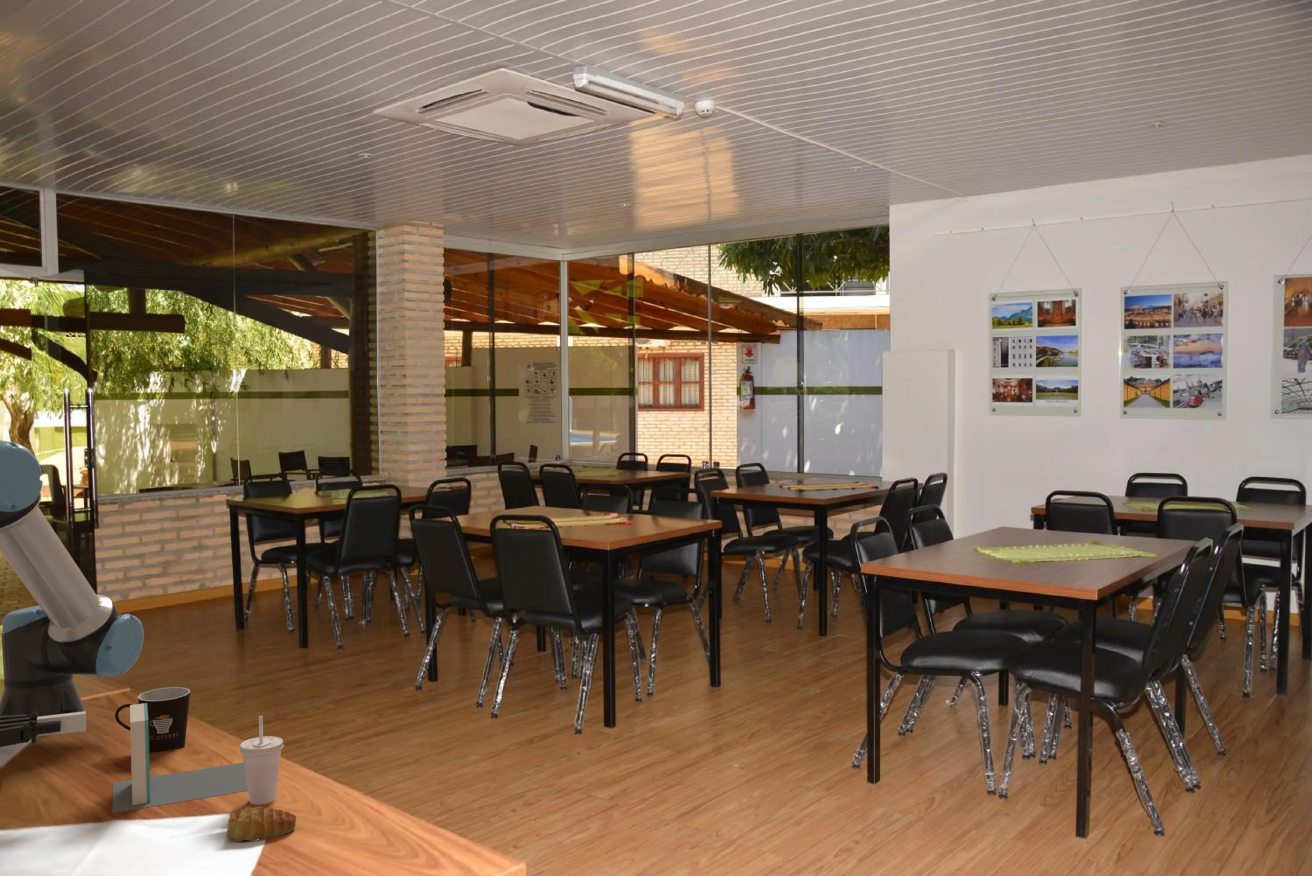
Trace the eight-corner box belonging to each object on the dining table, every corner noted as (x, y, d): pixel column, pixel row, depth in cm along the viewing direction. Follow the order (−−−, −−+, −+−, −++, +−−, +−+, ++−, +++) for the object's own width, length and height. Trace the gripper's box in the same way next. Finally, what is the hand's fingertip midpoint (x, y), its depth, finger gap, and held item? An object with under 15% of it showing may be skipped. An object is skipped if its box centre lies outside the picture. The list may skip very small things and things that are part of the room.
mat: (113, 786, 170) (113, 782, 170) (243, 765, 179) (243, 762, 179) (112, 817, 158) (112, 813, 158) (252, 793, 167) (252, 789, 167)
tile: (132, 783, 170) (129, 705, 169) (149, 781, 171) (147, 703, 170) (132, 805, 161) (130, 722, 160) (150, 802, 162) (148, 720, 161)
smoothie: (238, 813, 159) (236, 723, 158) (243, 797, 165) (241, 711, 165) (282, 809, 161) (281, 719, 160) (286, 793, 167) (284, 707, 166)
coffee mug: (200, 741, 192) (199, 687, 192) (174, 757, 184) (173, 701, 183) (141, 739, 194) (140, 686, 193) (112, 755, 185) (111, 700, 185)
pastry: (297, 821, 157) (297, 796, 157) (293, 840, 150) (293, 814, 150) (231, 827, 154) (230, 802, 154) (224, 847, 148) (223, 821, 148)
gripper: (-90, 755, 158) (87, 733, 168) (-107, 782, 146) (84, 757, 157) (-91, 706, 158) (86, 687, 168) (-108, 729, 146) (83, 708, 157)
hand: (85, 721), depth 163 cm, fingers closed
